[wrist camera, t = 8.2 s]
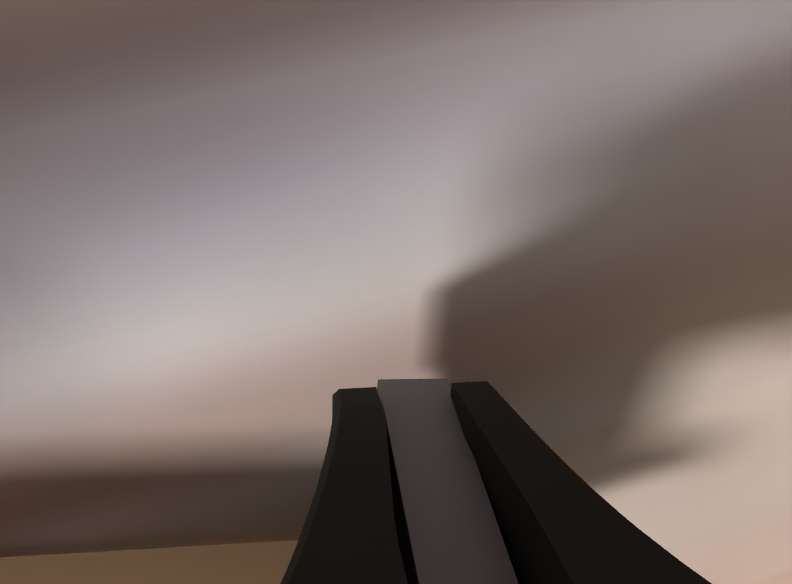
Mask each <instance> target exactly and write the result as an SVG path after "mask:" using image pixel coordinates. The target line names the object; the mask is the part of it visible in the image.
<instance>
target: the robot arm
mask: <svg viewBox="0 0 792 584" xmlns="http://www.w3.org/2000/svg"><path fill="white" fill-rule="evenodd" d="M450 396H451V399H452V402H453V405H454V408H455V410H456V413H457V416H458V419H459V422H460V425H461V428H462V431H463V434H464V437H465V439H466V441H467V443H468V446H469V448H470V450H471V452H472V454H473V456H474V459H475V461H476V464H477V466H478V469H479V472H480V475H481V478H482V481H483V484H484V486H485V489H486V492H487V495H488V498H489V501H490V504H491V506H492V509H493V512H494V515H495V518H496V521H497V524H498V526H499V529H500V532H501V535H502V538H503V541H504V544H505V546H506V549H507V552H508V555H509V558H510V561H511V564H512V566H513V569H514V572H515V575H516V578H517V581H518V584H711V583H710V582H709V581H707V580H706V579H704V578H703V577H702V576H700V575H699V574H697V573H696V572H695V571H693V570H692V569H690V568H689V567H688V566H686V565H685V564H683V563H682V562H681V561H679V560H678V559H677V558H676V557H674V556H673V555H672V554H670V553H669V552H668V551H667V550H665V549H664V548H663V547H661V546H660V545H659V544H657V543H656V542H655V541H654V540H652V539H651V538H650V537H648V536H647V535H646V534H645V533H643V532H642V531H641V530H639V529H638V528H637V527H636V526H635V525H633V524H632V523H631V522H630V521H629V520H627V519H626V518H625V517H624V516H623V515H621V514H620V513H619V512H618V511H617V510H616V509H615V508H613V507H612V506H611V505H610V504H609V503H608V502H607V501H605V500H604V499H603V498H602V497H601V496H600V495H599V494H598V493H596V492H595V491H594V490H593V489H592V488H591V487H590V486H589V485H588V484H587V483H586V482H585V481H583V480H582V479H581V478H580V477H579V476H578V475H577V474H576V473H575V472H574V471H573V470H572V469H571V468H570V467H569V466H568V465H567V464H566V463H565V462H564V461H563V460H562V459H561V458H560V457H559V456H558V455H557V454H556V453H555V452H554V451H553V450H552V449H551V448H550V447H549V446H548V445H547V444H546V443H545V442H544V441H543V440H542V439H541V438H540V437H539V436H538V435H537V434H536V433H535V432H534V431H533V430H532V429H531V428H530V427H529V426H528V424H527V423H526V422H525V421H524V420H523V419H522V418H521V417H520V416H519V415H518V414H517V413H516V412H515V411H514V410H513V408H512V407H511V406H510V405H509V404H508V403H507V402H506V401H505V400H504V399H503V398H502V397H501V396H500V395H499V393H498V392H497V391H496V390H495V389H494V388H493V387H492V386H491V385H490V384H489V383H488V382H487V381H485V382H466V383H452V387H451V395H450ZM280 584H408V583H407V578H406V574H405V570H404V565H403V561H402V557H401V552H400V548H399V543H398V538H397V531H396V525H395V518H394V508H393V497H392V486H391V475H390V464H389V453H388V442H387V431H386V421H385V414H384V411H383V407H382V404H381V400H380V397H379V394H378V391H377V388H376V387H370V388H351V389H339V390H338V391H337V392H335V393H334V394H333V406H332V426H331V433H330V438H329V443H328V448H327V452H326V456H325V460H324V463H323V467H322V471H321V475H320V478H319V482H318V486H317V489H316V492H315V495H314V498H313V501H312V504H311V507H310V510H309V512H308V515H307V518H306V521H305V524H304V527H303V529H302V532H301V535H300V538H299V540H298V543H297V545H296V548H295V550H294V553H293V555H292V558H291V560H290V563H289V565H288V567H287V570H286V572H285V574H284V577H283V579H282V581H281V583H280Z"/></svg>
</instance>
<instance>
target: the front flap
mask: <svg viewBox="0 0 792 584" xmlns="http://www.w3.org/2000/svg"><path fill="white" fill-rule="evenodd" d="M377 391H378V394H379V397H380V400H381V404H382V407H383V411H384V414H385V421H386V431H387V442H388V453H389V464H390V475H391V486H392V497H393V508H394V518H395V525H396V531H397V538H398V543H399V548H400V552H401V557H402V561H403V565H404V570H405V574H406V578H407V583H408V584H518V581H517V578H516V575H515V572H514V569H513V566H512V564H511V561H510V558H509V555H508V552H507V549H506V546H505V544H504V541H503V538H502V535H501V532H500V529H499V526H498V524H497V521H496V518H495V515H494V512H493V509H492V506H491V504H490V501H489V498H488V495H487V492H486V489H485V486H484V484H483V481H482V478H481V475H480V472H479V469H478V466H477V464H476V461H475V459H474V456H473V454H472V452H471V450H470V448H469V446H468V443H467V441H466V439H465V437H464V434H463V431H462V428H461V425H460V422H459V419H458V416H457V413H456V410H455V408H454V405H453V402H452V399H451V396H450V395H451V389H450V386H449V384H448V381H447V379H388V380H378V386H377ZM297 543H298V540H292V541H275V542H257V543H240V544H223V545H205V546H188V547H171V548H153V549H136V550H119V551H101V552H84V553H67V554H49V555H32V556H15V557H0V584H280V583H281V581H282V579H283V577H284V574H285V572H286V570H287V567H288V565H289V563H290V560H291V558H292V555H293V553H294V550H295V548H296V545H297Z"/></svg>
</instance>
